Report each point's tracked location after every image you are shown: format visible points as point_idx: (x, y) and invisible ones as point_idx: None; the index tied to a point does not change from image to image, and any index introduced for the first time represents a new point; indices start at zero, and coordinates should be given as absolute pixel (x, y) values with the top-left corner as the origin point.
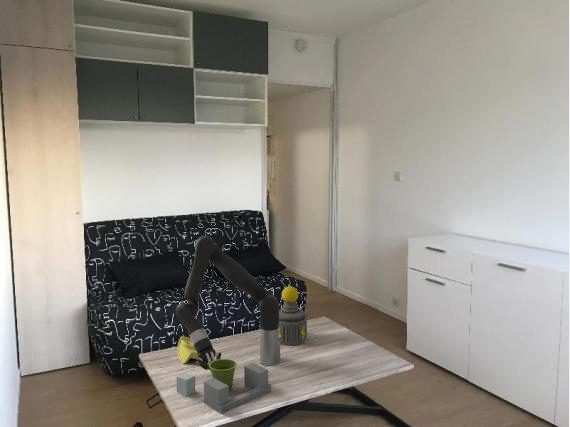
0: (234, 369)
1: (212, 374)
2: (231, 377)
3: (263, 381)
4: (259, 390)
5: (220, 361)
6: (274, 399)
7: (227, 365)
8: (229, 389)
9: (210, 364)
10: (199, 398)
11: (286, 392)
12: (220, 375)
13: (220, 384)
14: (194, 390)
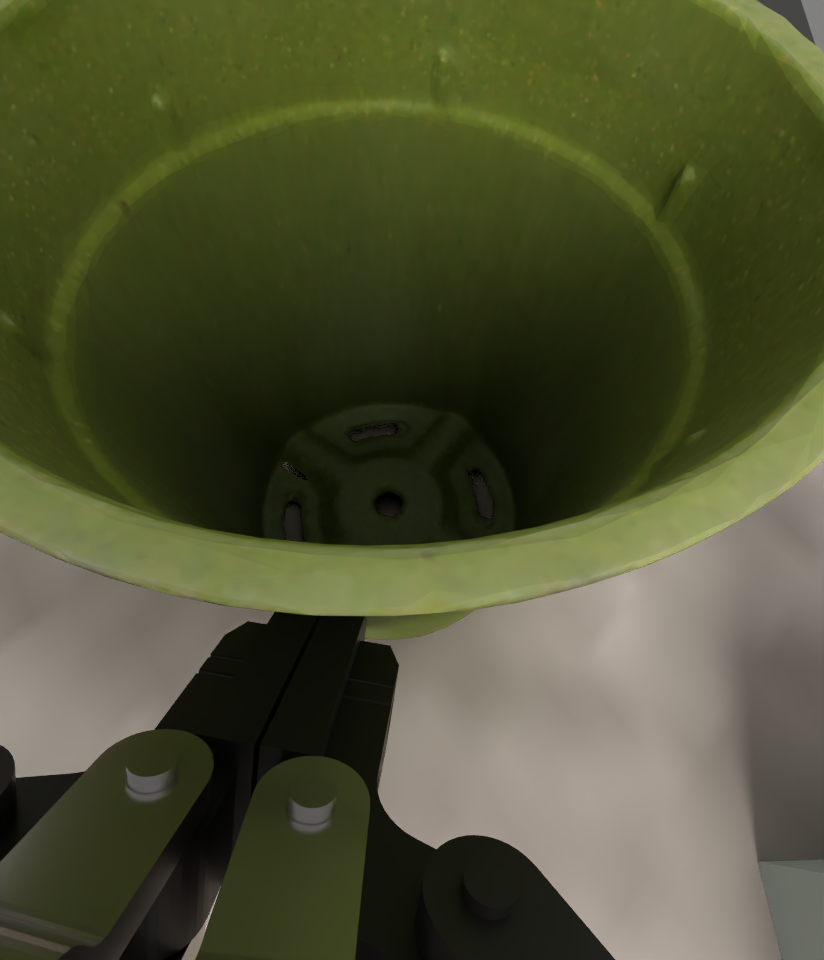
0: (269, 44)
1: (664, 418)
2: (365, 207)
3: None
4: None
5: (53, 461)
6: None
7: (43, 361)
8: (387, 384)
9: (735, 440)
10: (810, 598)
11: None
12: (623, 175)
13: None
14: (796, 865)
